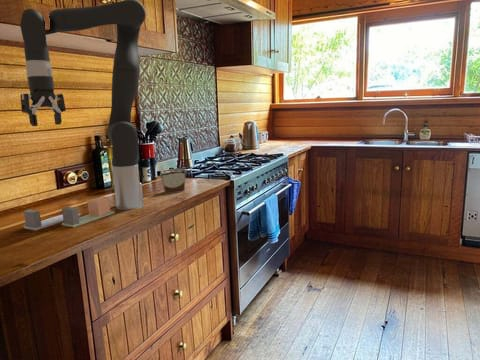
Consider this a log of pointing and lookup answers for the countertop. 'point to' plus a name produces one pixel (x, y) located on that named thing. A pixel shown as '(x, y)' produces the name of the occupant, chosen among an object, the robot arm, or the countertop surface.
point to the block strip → (88, 219)
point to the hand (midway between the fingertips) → (46, 125)
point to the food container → (173, 180)
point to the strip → (49, 222)
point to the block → (98, 206)
